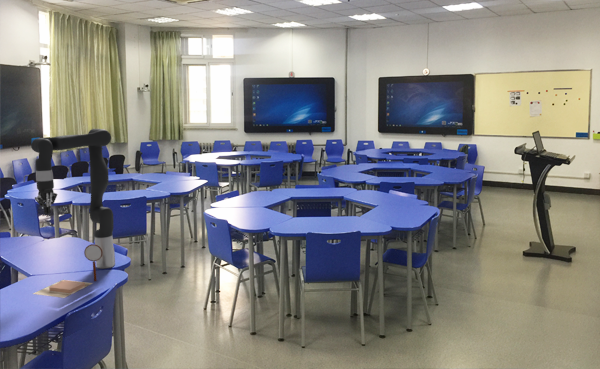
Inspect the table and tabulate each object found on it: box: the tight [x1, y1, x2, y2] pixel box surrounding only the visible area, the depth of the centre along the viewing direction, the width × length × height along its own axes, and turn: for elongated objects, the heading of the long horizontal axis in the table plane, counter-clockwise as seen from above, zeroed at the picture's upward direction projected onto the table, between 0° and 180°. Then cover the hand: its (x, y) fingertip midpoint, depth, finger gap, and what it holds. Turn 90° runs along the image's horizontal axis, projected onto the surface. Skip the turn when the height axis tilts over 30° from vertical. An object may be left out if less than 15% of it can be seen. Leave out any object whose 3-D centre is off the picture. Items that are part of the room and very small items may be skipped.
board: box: [32, 279, 94, 299], centre depth 252 cm, size 20×18×1 cm
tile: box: [49, 279, 86, 295], centre depth 251 cm, size 10×2×12 cm
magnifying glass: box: [83, 243, 102, 282], centre depth 260 cm, size 9×2×20 cm, turn 95°
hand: (47, 213), depth 258 cm, fingers closed
